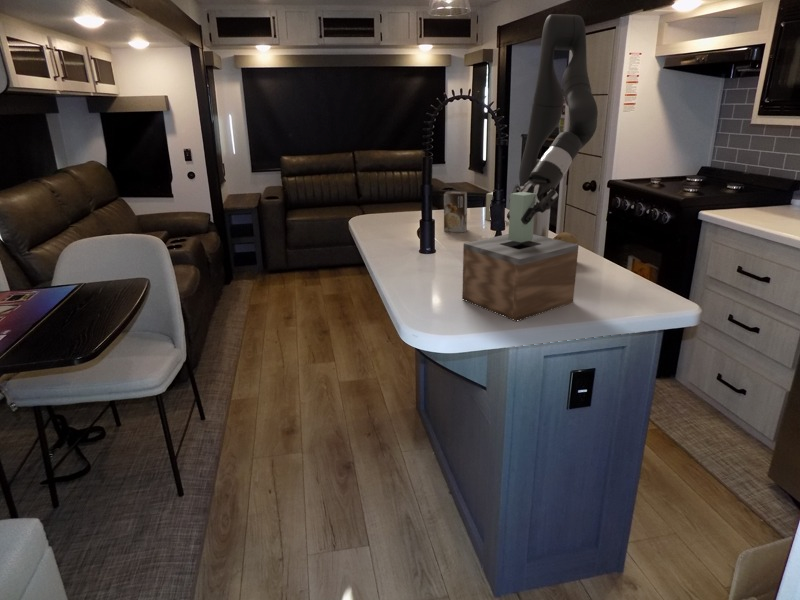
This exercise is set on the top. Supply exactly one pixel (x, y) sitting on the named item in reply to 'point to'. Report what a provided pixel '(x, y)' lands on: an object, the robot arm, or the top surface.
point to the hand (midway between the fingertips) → (516, 220)
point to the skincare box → (488, 205)
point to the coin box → (519, 275)
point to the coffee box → (455, 211)
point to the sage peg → (517, 210)
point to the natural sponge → (566, 237)
